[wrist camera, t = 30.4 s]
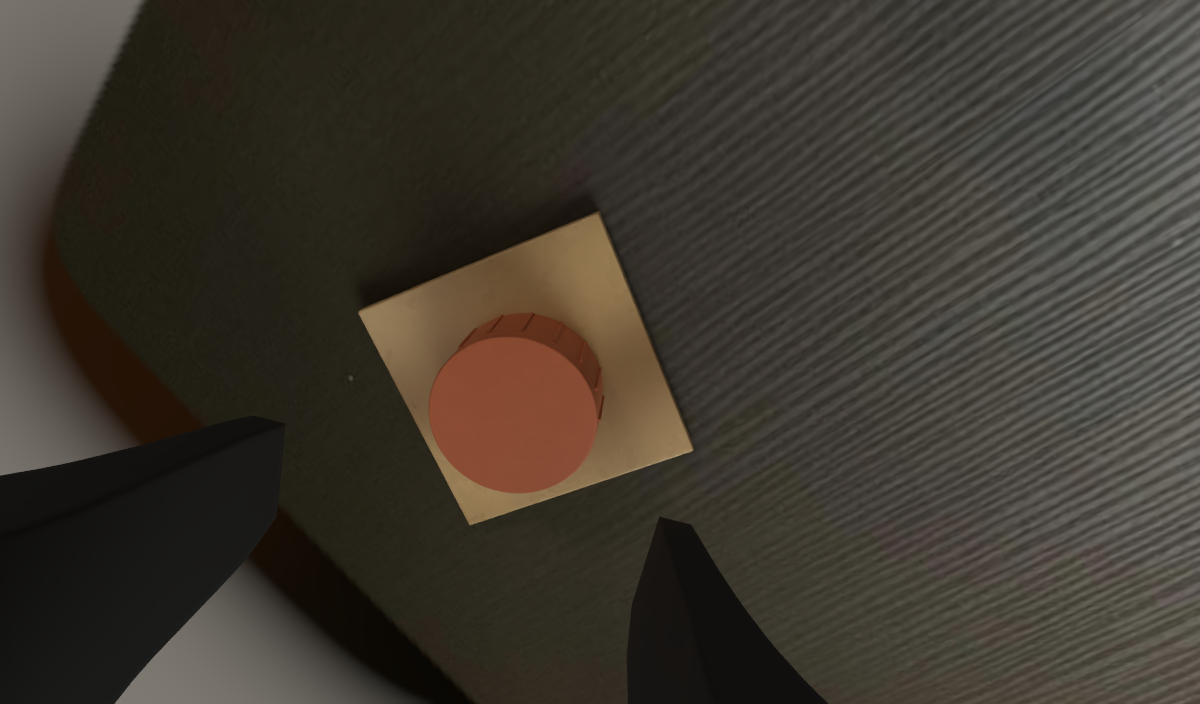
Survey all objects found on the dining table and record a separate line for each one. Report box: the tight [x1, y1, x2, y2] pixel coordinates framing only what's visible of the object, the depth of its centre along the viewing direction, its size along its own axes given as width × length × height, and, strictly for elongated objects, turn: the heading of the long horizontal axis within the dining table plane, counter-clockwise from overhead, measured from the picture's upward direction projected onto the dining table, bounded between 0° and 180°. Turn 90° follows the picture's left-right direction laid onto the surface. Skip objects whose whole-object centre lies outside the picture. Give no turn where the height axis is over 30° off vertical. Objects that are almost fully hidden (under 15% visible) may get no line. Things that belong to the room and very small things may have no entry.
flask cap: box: [428, 312, 605, 493], centre depth 18 cm, size 4×4×2 cm
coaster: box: [358, 211, 693, 525], centre depth 20 cm, size 8×8×1 cm
